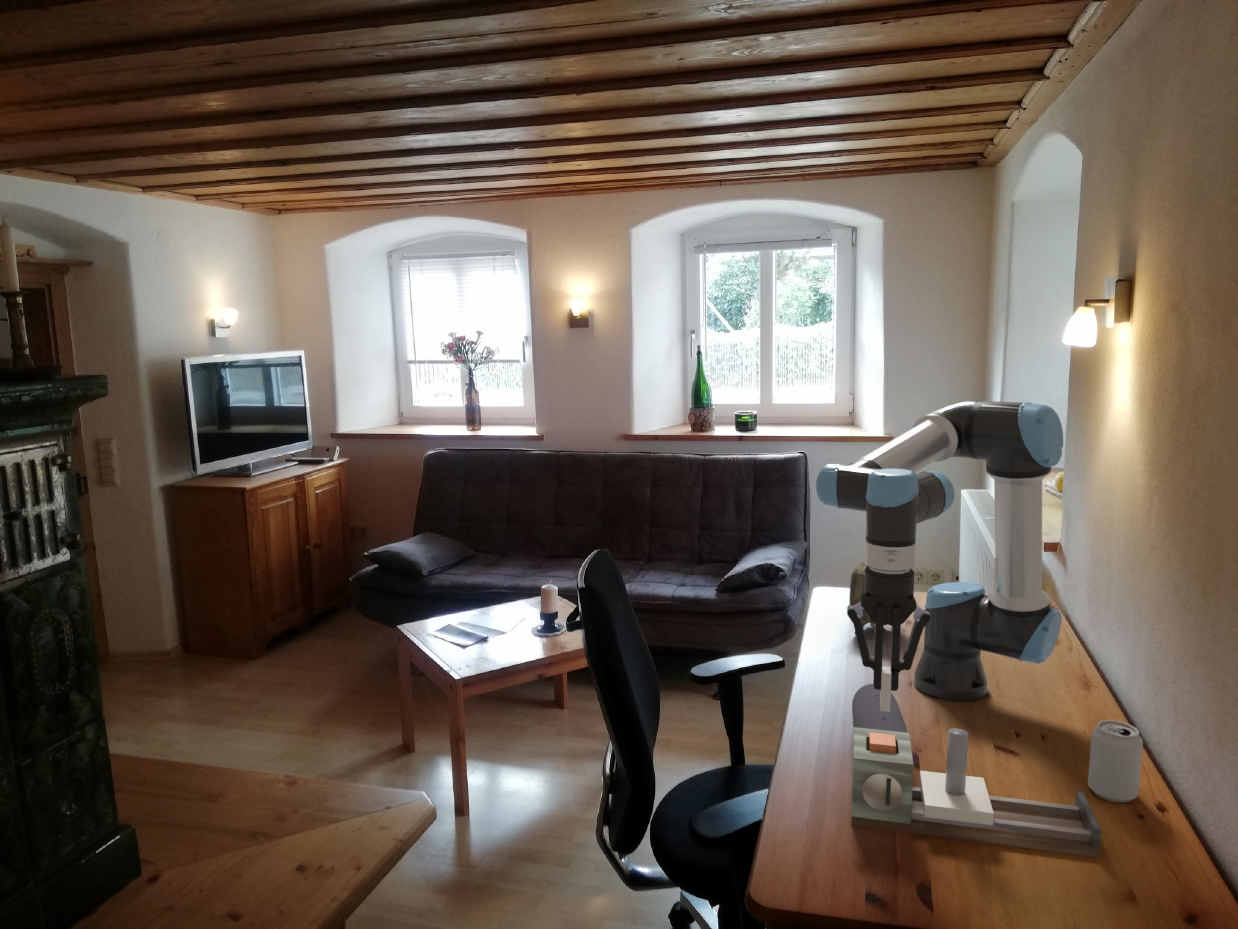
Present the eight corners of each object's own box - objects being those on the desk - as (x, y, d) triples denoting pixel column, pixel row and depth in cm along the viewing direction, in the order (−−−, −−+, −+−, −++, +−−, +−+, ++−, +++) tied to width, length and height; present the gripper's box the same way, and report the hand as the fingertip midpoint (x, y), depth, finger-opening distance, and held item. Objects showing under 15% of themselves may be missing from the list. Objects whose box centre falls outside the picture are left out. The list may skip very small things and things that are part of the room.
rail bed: (851, 789, 150) (853, 727, 149) (1081, 817, 141) (1086, 751, 140) (851, 827, 139) (853, 760, 137) (1101, 860, 130) (1107, 789, 128)
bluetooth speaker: (914, 790, 150) (917, 736, 149) (858, 785, 152) (860, 731, 150) (897, 730, 172) (899, 682, 171) (848, 727, 174) (850, 679, 172)
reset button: (868, 749, 145) (869, 732, 144) (893, 751, 144) (894, 734, 143) (869, 760, 141) (869, 743, 141) (895, 763, 140) (895, 746, 140)
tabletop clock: (868, 621, 235) (871, 531, 231) (901, 627, 230) (905, 535, 226) (848, 637, 224) (851, 542, 220) (883, 644, 218) (887, 547, 214)
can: (1137, 809, 144) (1143, 741, 142) (1085, 797, 147) (1091, 730, 146) (1138, 789, 150) (1144, 723, 148) (1089, 777, 154) (1094, 713, 152)
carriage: (919, 781, 147) (922, 714, 145) (982, 789, 145) (986, 720, 143) (924, 816, 137) (928, 745, 135) (993, 825, 134) (997, 752, 132)
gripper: (846, 572, 136) (843, 714, 140) (935, 576, 132) (929, 722, 136) (847, 559, 143) (843, 694, 147) (931, 563, 139) (925, 701, 143)
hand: (885, 707), depth 142 cm, fingers closed
